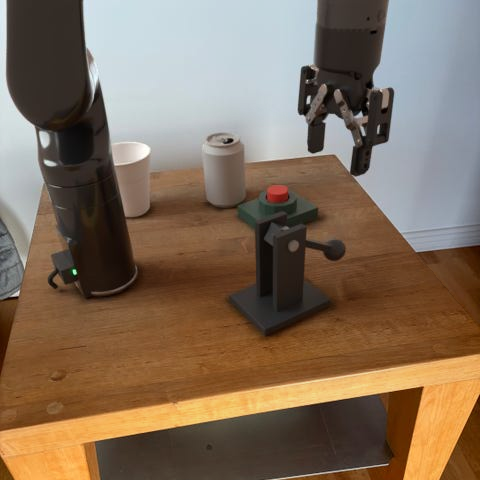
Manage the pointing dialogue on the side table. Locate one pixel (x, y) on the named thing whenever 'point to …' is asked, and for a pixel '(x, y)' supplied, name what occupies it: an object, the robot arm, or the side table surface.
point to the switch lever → (312, 243)
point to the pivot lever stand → (279, 280)
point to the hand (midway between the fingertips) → (335, 162)
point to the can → (224, 169)
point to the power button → (277, 194)
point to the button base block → (278, 209)
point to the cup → (133, 176)
